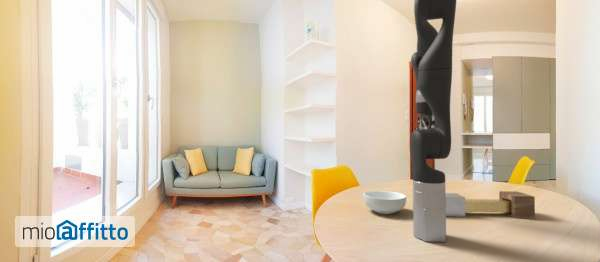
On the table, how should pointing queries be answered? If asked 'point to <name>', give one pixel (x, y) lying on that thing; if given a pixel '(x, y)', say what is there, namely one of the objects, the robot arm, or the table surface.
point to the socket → (519, 204)
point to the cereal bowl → (384, 201)
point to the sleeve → (455, 205)
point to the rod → (488, 205)
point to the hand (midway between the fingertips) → (426, 142)
